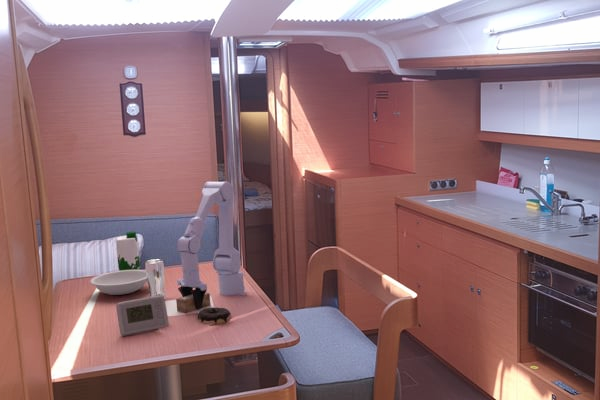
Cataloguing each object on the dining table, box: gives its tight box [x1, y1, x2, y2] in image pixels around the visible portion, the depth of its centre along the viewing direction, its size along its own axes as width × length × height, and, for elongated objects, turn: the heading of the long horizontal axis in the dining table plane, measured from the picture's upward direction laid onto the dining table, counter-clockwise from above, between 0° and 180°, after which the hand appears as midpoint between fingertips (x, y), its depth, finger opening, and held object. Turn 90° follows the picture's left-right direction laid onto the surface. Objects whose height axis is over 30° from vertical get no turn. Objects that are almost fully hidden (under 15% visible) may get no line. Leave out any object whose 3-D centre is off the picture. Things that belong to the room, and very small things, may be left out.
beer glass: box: [144, 258, 167, 300], centre depth 262 cm, size 7×7×15 cm
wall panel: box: [165, 295, 215, 318], centre depth 248 cm, size 22×20×4 cm
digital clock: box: [115, 295, 170, 337], centre depth 227 cm, size 16×9×11 cm, turn 102°
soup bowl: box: [89, 269, 147, 296], centre depth 276 cm, size 24×24×7 cm
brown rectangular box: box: [175, 292, 211, 315], centre depth 244 cm, size 11×5×5 cm, turn 136°
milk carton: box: [115, 231, 141, 271], centre depth 298 cm, size 9×9×20 cm
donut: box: [197, 307, 232, 327], centre depth 232 cm, size 11×12×4 cm
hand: (193, 306), depth 245 cm, fingers open, 5 cm apart
